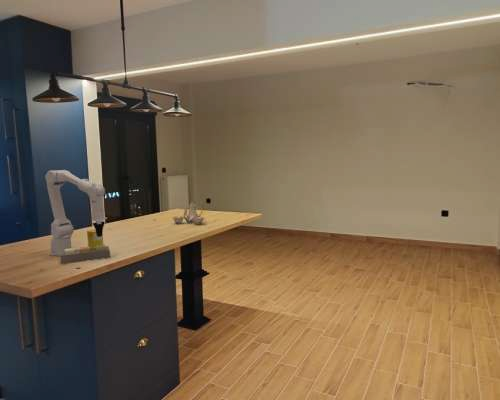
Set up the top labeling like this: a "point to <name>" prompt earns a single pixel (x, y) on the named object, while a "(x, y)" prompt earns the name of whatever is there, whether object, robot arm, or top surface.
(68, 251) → the cream button
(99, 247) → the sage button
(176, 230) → the top surface
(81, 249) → the terracotta button
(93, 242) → the supplement box
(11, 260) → the top surface
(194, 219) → the chinaware
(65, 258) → the console
